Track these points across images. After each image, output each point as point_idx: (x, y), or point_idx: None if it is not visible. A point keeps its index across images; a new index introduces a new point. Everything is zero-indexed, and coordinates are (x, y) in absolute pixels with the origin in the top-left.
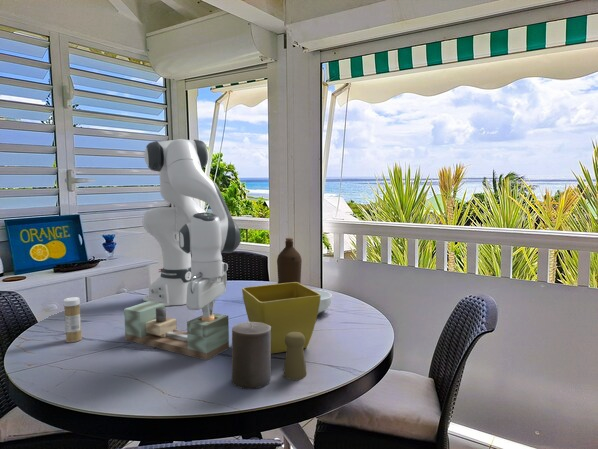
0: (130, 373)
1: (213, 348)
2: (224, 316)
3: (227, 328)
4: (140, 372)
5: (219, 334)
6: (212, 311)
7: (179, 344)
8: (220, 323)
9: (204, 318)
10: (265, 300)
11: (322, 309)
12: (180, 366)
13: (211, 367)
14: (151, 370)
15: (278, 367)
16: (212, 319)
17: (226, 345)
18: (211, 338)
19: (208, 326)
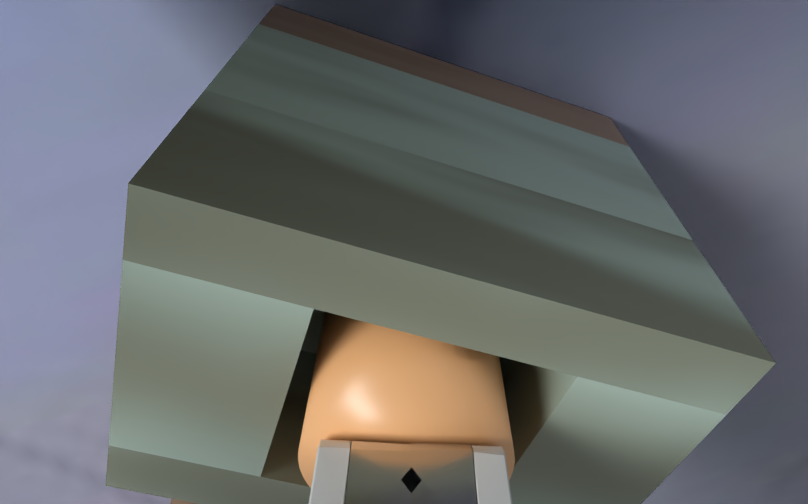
0: (792, 467)
1: (533, 119)
2: (209, 239)
3: (236, 93)
4: (788, 434)
5: (432, 139)
6: (330, 491)
7: None
8: (401, 211)
9: (509, 474)
10: None
11: None
12: (724, 269)
13: (788, 11)
14: (767, 398)
15: None
16: (453, 368)
17: (312, 30)
18: (590, 188)
19: (709, 323)
